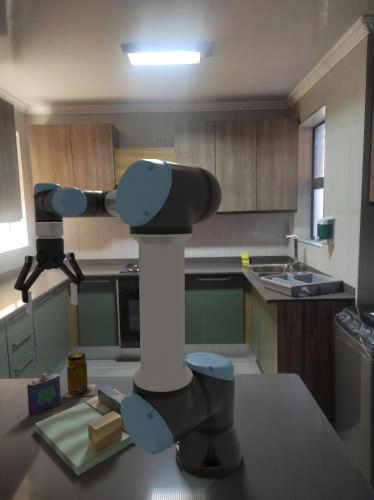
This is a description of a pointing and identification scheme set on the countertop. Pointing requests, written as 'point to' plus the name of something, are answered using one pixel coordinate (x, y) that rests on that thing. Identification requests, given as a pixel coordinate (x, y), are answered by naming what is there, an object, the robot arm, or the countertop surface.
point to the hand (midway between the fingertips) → (53, 308)
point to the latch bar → (110, 398)
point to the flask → (44, 394)
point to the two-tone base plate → (85, 434)
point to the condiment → (78, 376)
